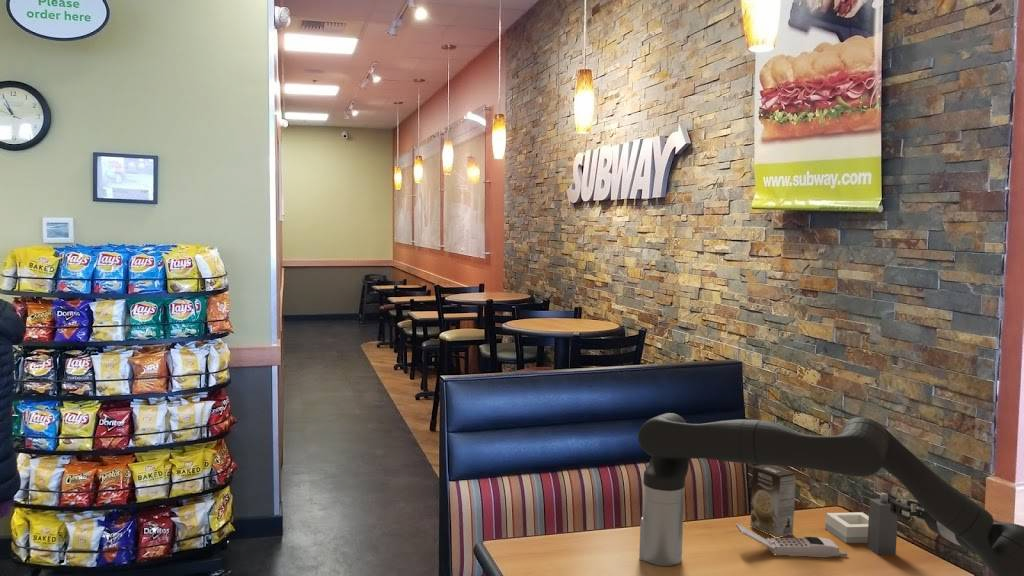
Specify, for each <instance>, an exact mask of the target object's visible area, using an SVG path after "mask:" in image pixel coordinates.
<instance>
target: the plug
mask: <svg viewBox="0 0 1024 576" xmlns="http://www.w3.org/2000/svg"><path fill="white" fill-rule="evenodd" d="M888 495H889V493H886V492H880V497H879V498H869V502H868V503H869V506H868V516H869V521H868V540H867V543H866V544H867V545H866V548H867V550H870V552H873V553H874V554H875V555H877V556H892V555H893V556H894V555H896V554H897V537H898V519H899V518H898V517H899V516H898V515H896V514H894V513H892V512H890V504H888V503H887V501H888Z"/></svg>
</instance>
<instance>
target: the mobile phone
mask: <svg viewBox="0 0 1024 576" xmlns="http://www.w3.org/2000/svg"><path fill="white" fill-rule="evenodd" d="M735 525H736V528H737V529H738V531H739V532H740V533H742V535H744V536H747V537H749V538H750V539H753V540H754V541H756V542H758V543H760V544H761V545H763V546H765V547H766V548H767V547H768V548H769V549H770V550H769V549H768V548H767V549H768V550H769V551H771V552H772V553H773V554H776V555H789V556H788V557H796V556H808V557H807V558H831V557H848V553H847V552H840V547H839V546H838V545H836V543H835V542H834V541H833V540H832V539H829V538H825V537H819V536H818V537H817V536H803V537H782V538H773V537H771V538H769V537H767V538H765V537H763V536H761V535H759V534H757V533H756V532H754V531H752V530H751V529H748V528H747V527H746V526H744V525H742V524H740V523H736V524H735ZM771 552H770V553H771ZM772 553H771V554H772ZM773 554H772V555H773ZM790 555H792V556H790Z"/></svg>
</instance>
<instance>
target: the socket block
mask: <svg viewBox="0 0 1024 576" xmlns="http://www.w3.org/2000/svg"><path fill="white" fill-rule="evenodd" d="M868 521H869V514H868V515H867V514H866V513H864V512H862V511H859V512H858V511H857V512H825V526H824V528H825V530H827V531H828V532H830V533H831V534H832V535H834V536H835V537H837V538H838V539H839V540H841V541H842V542H844V543H846V544H860V543H862V544H863V543H865V544H867V540H868Z"/></svg>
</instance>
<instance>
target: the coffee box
mask: <svg viewBox="0 0 1024 576" xmlns="http://www.w3.org/2000/svg"><path fill="white" fill-rule="evenodd" d="M752 467H753V468H752V485H751V486H752V487H751V506H750V521H749V522H750V523H749V524H750V525H749V526H752V527H755V528H757V529H759V530H761V531H764V532H766V533H768V534H771V535H773V536H775V537H780V536H786V537H788V536H787V535H790V536H793V535H794V534H793V533H794V521H795V504H796V502H795V500H796V487H797V486H796V484H797V472H794V471H791V470H789V469H786V468H783V467H782V466H776V465H755V466H752ZM752 527H751V528H752ZM792 534H793V535H792Z"/></svg>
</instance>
